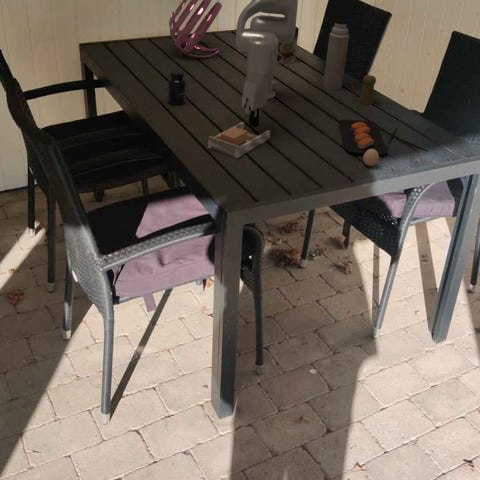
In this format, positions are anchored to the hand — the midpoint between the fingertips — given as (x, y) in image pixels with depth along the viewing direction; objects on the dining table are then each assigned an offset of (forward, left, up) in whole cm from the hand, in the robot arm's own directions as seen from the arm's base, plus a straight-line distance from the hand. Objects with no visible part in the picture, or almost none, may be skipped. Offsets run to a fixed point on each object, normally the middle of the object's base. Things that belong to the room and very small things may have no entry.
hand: (253, 125), depth 235 cm
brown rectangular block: (+13, 0, -3) cm, 13 cm away
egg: (-5, +43, -4) cm, 44 cm away
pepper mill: (-58, +17, -4) cm, 61 cm away
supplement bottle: (-6, -40, -4) cm, 41 cm away
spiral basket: (-60, -72, -4) cm, 94 cm away
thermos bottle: (-65, -2, -4) cm, 66 cm away
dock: (+9, 0, -4) cm, 9 cm away
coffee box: (-80, -35, -4) cm, 88 cm away
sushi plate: (-27, +38, -4) cm, 47 cm away
